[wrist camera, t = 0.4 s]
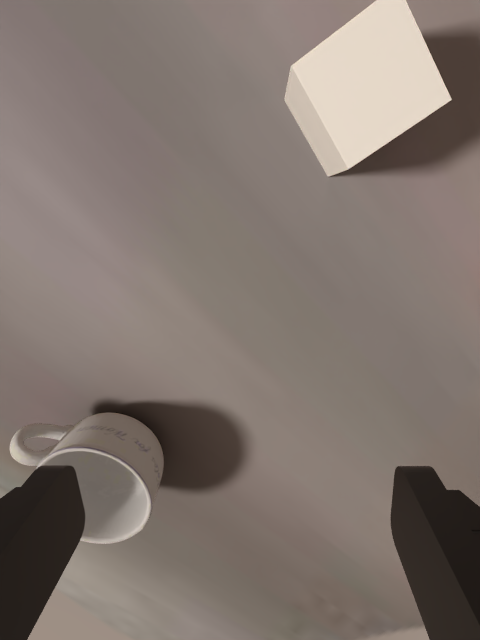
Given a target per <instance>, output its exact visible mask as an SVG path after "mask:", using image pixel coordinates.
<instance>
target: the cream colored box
mask: <svg viewBox="0 0 480 640" xmlns="http://www.w3.org/2000/svg"><path fill="white" fill-rule="evenodd" d="M284 100H285V102H286V104H287V106H288V107H289V109H290V111H291V113H292V114H293V116H294V118H295V120H296V121H297V123H298V125H299V127H300V129H301V130H302V132H303V134H304V136H305V137H306V139H307V141H308V143H309V144H310V146H311V148H312V150H313V151H314V153H315V155H316V157H317V158H318V160H319V162H320V164H321V165H322V167H323V169H324V171H325V172H326V174H327V176H328V177H329V176H332V175H335V174H337V173H340V172H343V171H345V170H348V169H350V168H351V167H353V166H354V165H356V164H357V163H359V162H360V161H362V160H363V159H365V158H366V157H367V156H369V155H370V154H372V153H373V152H375V151H376V150H378V149H379V148H381V147H382V146H384V145H385V144H387V143H388V142H390V141H391V140H393V139H394V138H396V137H397V136H399V135H400V134H402V133H403V132H405V131H406V130H408V129H409V128H411V127H412V126H413V125H415V124H416V123H418V122H419V121H421V120H422V119H424V118H425V117H427V116H428V115H430V114H431V113H433V112H434V111H436V110H437V109H439V108H440V107H442V106H443V105H445V104H446V103H448V102H449V101H451V100H452V99H451V97H450V95H449V92H448V90H447V88H446V86H445V84H444V82H443V80H442V77H441V75H440V73H439V71H438V69H437V67H436V65H435V62H434V60H433V58H432V56H431V54H430V52H429V49H428V47H427V45H426V43H425V41H424V39H423V37H422V34H421V32H420V30H419V28H418V26H417V24H416V21H415V19H414V17H413V15H412V13H411V11H410V9H409V6H408V4H407V2H406V0H376V1H375V2H374V3H373V4H371V5H370V6H369V7H367V8H366V9H365V10H363V11H362V12H361V13H360V14H358V15H357V16H356V17H354V18H353V19H352V20H350V21H349V22H348V23H347V24H345V25H344V26H343V27H341V28H340V29H339V30H337V31H336V32H335V33H333V34H332V35H331V36H330V37H328V38H327V39H326V40H324V41H323V42H322V43H320V44H319V45H318V46H317V47H315V48H314V49H313V50H311V51H310V52H309V53H307V54H306V55H305V56H304V57H302V58H301V59H300V60H298V61H297V62H296V63H294V64H293V65H292V66H291V69H290V74H289V79H288V84H287V89H286V94H285V99H284Z"/></svg>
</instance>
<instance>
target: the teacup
mask: <svg viewBox="0 0 480 640" xmlns="http://www.w3.org/2000/svg"><path fill="white" fill-rule="evenodd" d="M31 437H47V438H53V439H57V440H60V441H59V442H58V443H57V444H56V445H54V446H50V447H48V448H47V449H45V450H41V451H34V450H31V449H29V448H27V447H26V446H25V444H24V440H26V439H28V438H31ZM10 453H11V455H12V457H13V458H14V459H15V460H16V461H18V462H19V463H22V464H24V465H30V466H37V468H38V467H40V466H43V465H70V466H73V467H74V469H75V471H76V475H77V479H78V483H79V488H80V492H81V496H82V501H83V505H84V509H85V526H84V531H83V534H82V537H81V539H80V540H81V541H86V542H90V543H99V544H108V543H115V542H120V541H123V540H126V539H128V538H130V537H132V536H134V535H135V534H137V533H138V532H139V531H141V530H142V529H143V528H144V526H145V525H146V523H147V522H148V520H149V518H150V515H151V512H152V505H153V502H154V500H155V497H156V494H157V491H158V488H159V485H160V481H161V478H162V474H163V467H164V457H163V452H162V448H161V445H160V443H159V441H158V439H157V438H156V436H155V435H154V434H153V432H152V431H151V430H150V429H149V428H148V427H147V426H145V425H144V424H143V423H141V422H140V421H138V420H136V419H134V418H132V417H130V416H127V415H124V414H119V413H99V414H95V415H92V416H89V417H87V418H84V419H83V420H81V421H80V422H78V423H77V424H76V425H74V426H72V425H66V426H58V425H51V424H30V425H27V426H24V427H22V428H21V429H20V430H18V431H17V432H16V434H15V435H14V436H13V438H12V440H11V443H10ZM37 468H36V469H37Z"/></svg>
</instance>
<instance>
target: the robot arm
mask: <svg viewBox="0 0 480 640" xmlns="http://www.w3.org/2000/svg"><path fill="white" fill-rule="evenodd" d="M84 526H85V509H84V505H83V501H82V496H81V492H80V488H79V483H78V479H77V475H76V471H75V469H74V467H73V466H70V465H43V466H40V467H38V468H37V469H36V470H35V471H34V472H33V473H32V474H31V476H30V477H29V478H28V479H27V480H26V482H25V483H24V484H23V485H22V486H21V487H16V488H14V489H13V490H12V491H10V492H9V493H7V494H6V495H5V496H3V497H2V498H1V499H0V640H27V639H28V637H29V635H30V633H31V631H32V629H33V628H34V626H35V624H36V622H37V620H38V618H39V616H40V614H41V613H42V611H43V609H44V607H45V605H46V603H47V601H48V599H49V597H50V596H51V594H52V592H53V590H54V588H55V586H56V584H57V583H58V581H59V579H60V577H61V575H62V573H63V571H64V569H65V568H66V566H67V564H68V562H69V560H70V558H71V556H72V554H73V553H74V551H75V549H76V547H77V545H78V543H79V541H80V539H81V537H82V534H83V531H84ZM391 529H392V535H393V539H394V543H395V546H396V549H397V552H398V555H399V557H400V560H401V563H402V565H403V568H404V571H405V574H406V576H407V579H408V582H409V584H410V587H411V590H412V593H413V595H414V598H415V601H416V603H417V606H418V609H419V612H420V614H421V617H422V620H423V622H424V625H425V628H426V631H427V633H428V636H429V639H430V640H480V507H479V506H478V505H477V504H475V503H474V502H473V501H472V500H471V499H469V498H468V497H467V496H466V495H465V494H463V493H462V492H461V491H460V490H446V488H445V486H444V485H443V483H442V482H441V480H440V478H439V477H438V475H437V473H436V472H435V470H434V469H433V468H432V467H430V466H398V467H397V468H396V470H395V475H394V486H393V497H392V507H391Z"/></svg>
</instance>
